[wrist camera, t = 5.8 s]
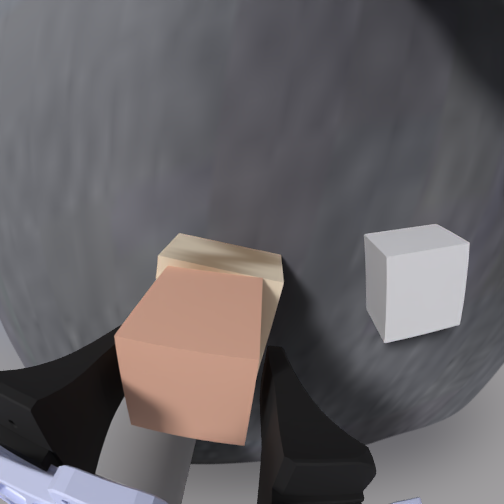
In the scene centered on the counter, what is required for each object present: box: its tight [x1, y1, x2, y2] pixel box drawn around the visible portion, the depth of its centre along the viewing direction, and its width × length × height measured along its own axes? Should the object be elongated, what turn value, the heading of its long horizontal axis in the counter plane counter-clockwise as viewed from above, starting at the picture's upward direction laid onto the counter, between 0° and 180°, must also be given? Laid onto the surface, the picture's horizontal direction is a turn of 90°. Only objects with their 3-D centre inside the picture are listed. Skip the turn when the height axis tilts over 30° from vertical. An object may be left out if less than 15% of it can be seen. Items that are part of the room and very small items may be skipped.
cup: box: [95, 396, 196, 504], centre depth 18 cm, size 8×8×10 cm
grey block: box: [364, 224, 470, 343], centre depth 16 cm, size 5×5×4 cm
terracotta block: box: [114, 266, 263, 446], centre depth 12 cm, size 4×4×6 cm
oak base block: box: [156, 233, 284, 373], centre depth 17 cm, size 6×6×4 cm
